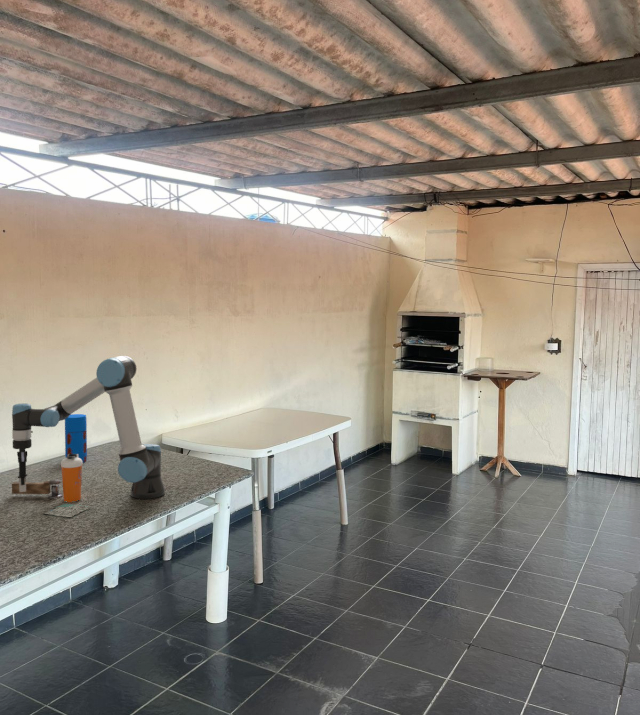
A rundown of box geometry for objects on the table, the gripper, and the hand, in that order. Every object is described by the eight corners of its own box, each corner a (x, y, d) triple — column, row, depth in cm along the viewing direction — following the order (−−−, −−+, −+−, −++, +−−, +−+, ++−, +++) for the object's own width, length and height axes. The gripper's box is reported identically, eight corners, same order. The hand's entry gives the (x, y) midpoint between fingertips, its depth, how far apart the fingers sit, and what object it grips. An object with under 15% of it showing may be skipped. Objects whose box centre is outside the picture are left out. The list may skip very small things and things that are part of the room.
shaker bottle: (60, 503, 275) (59, 458, 273) (62, 497, 284) (61, 453, 282) (82, 502, 277) (81, 457, 275) (84, 496, 286) (83, 452, 284)
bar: (62, 491, 287) (62, 479, 286) (58, 495, 282) (58, 482, 281) (15, 491, 286) (15, 478, 286) (10, 494, 281) (10, 481, 281)
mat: (90, 508, 270) (90, 507, 270) (69, 518, 258) (69, 516, 258) (65, 504, 274) (65, 503, 274) (43, 514, 261) (43, 512, 261)
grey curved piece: (65, 495, 286) (65, 484, 286) (56, 499, 281) (55, 488, 280) (54, 493, 288) (54, 483, 288) (44, 497, 282) (44, 486, 282)
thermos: (61, 462, 340) (60, 416, 338) (74, 458, 351) (73, 413, 348) (78, 464, 337) (77, 418, 335) (91, 460, 348) (90, 414, 345)
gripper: (32, 441, 275) (32, 494, 277) (30, 435, 287) (31, 486, 289) (12, 442, 272) (13, 496, 274) (12, 436, 283) (12, 488, 285)
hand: (22, 491), depth 281 cm, fingers closed
